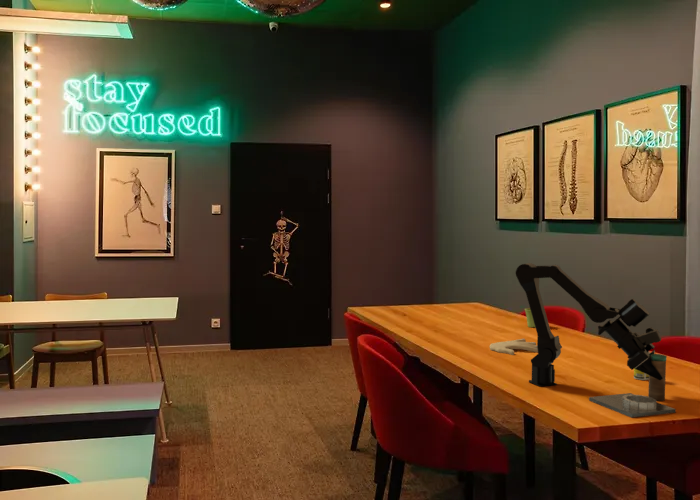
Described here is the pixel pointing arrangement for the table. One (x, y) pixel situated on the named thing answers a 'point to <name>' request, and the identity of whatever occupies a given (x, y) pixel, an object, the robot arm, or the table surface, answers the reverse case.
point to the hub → (632, 405)
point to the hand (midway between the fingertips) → (662, 377)
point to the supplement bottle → (640, 375)
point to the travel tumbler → (654, 384)
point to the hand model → (513, 346)
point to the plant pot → (529, 318)
